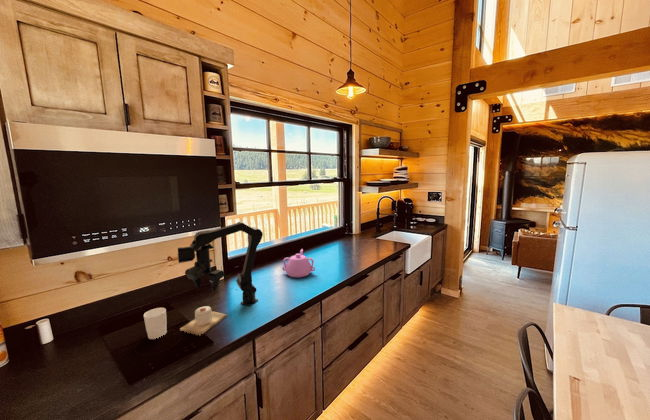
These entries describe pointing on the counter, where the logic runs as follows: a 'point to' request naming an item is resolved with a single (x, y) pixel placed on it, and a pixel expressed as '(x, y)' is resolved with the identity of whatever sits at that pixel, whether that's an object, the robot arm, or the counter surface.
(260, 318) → the counter surface
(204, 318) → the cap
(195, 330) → the stud block
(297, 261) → the teapot
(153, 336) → the white cup
